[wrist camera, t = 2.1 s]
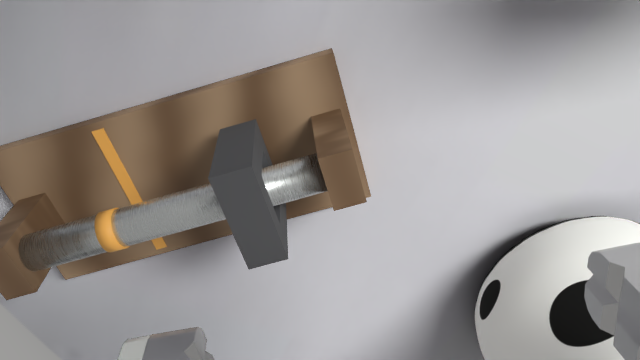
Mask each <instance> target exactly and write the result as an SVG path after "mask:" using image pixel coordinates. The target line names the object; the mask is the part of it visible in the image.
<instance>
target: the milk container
mask: <svg viewBox="0 0 640 360" xmlns="http://www.w3.org/2000/svg"><path fill="white" fill-rule="evenodd" d="M633 243H640V223H637V222H634V221H631V220H627V219H621V218H614V217H607V216H591V217H584V218H577V219H571V220H566V221H563V222H560V223H557V224H554V225H552V226H550V227H547V228H545V229H542V230H540V231H538V232H536V233H534V234H532V235H530V236H528V237H527V238H525V239H524V240H522V241H521V242H520V243H518V244H517V245H516V246H514V247H513V248H512V249H511V250H509V251H508V252H507V253H506V254H505V255H503V256H502V257H501V258H500V260H499V261H498V262H497V263H496V264H495V266H494V267H493V268H492V270H491V271H490V272H489V274H488V275H487V277H486V278H485V280H484V282H483V284H482V286H481V289H480V292H479V296H478V299H477V303H476V308H475V326H476V332H477V337H478V341H479V345H480V348H481V352H482V355H483V357H484V359H485V360H625V359H624V358H623V357H622V356H621V354H620V353H619V352H618V351H617V350H616V348H615V347H614V346H613V342H614V335H612V334H610V333H608V332H606V331H603V330H601V329H600V328H599V327H598V326H597V324H596V323H595V322H594V320H593V319H592V317H591V315H590V313H589V311H588V309H587V305H586V301H585V297H584V295H585V284H586V283H587V281H588V280H589V279H590V278H591V277H592V275H593V273H592V272H591V271H590V270H589V269H588V268H587V264H588V257H589V256H590V254H591V252H593V251H598V250H603V249H608V248H613V247H618V246H623V245H628V244H633Z"/></svg>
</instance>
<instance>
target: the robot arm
mask: <svg viewBox="0 0 640 360" xmlns="http://www.w3.org/2000/svg"><path fill="white" fill-rule="evenodd" d="M587 268H588V269H589V270H590V271H591V272H592V273H593V275H592V277H591V278H590V279H589V280H588V281H587V283H586V284H585V295H584V297H585V301H586V305H587V309H588V311H589V313H590V315H591V317H592V319H593V320H594V322H595V323H596V324H597V326H598V327H599V328H600V329H601V330H603V331H606V332H608V333H610V334H612V335H614V342H613V346H614V347H615V348H616V350H617V351H618V352H619V353H620V354H621V356H622V357H623V358H624V359H625V360H640V243H633V244H628V245H623V246H618V247H613V248H608V249H603V250H598V251H593V252H591V254H590V256H589V257H588V264H587ZM206 343H207V339H206V337H205V334H204V332H203V330H202V328H200V327H194V328H188V329H182V330H176V331H170V332H164V333H158V334H152V335H150V336H143V337H137V338H131V339H127V340H126V341H125V343H124V344H123V345H122V348H121V351H120V354H119V357H118V360H214V358H213V355H211V354H210V353H208V352H206Z"/></svg>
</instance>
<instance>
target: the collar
mask: <svg viewBox="0 0 640 360" xmlns="http://www.w3.org/2000/svg"><path fill="white" fill-rule="evenodd" d="M272 165H273V164H272V162H271V159H270V156H269V153H268V151H267V148H266V145H265V143H264V140H263V137H262V134H261V132H260V129H259V126H258V123H257V121H256V119H254V120H251V121H247V122H244V123H240V124H237V125H233V126H230V127H226V128H223V129H220V131H219V135H218V139H217V143H216V147H215V152H214V156H213V160H212V164H211V168H210V173H209V177H208V180H209V182H210V184H211V186H212V188H213V191H214V193H215V195H216V197H217V200H218V202H219V204H220V206H221V209H222V211H223V213H224V215H225V218H226V220H227V222H228V224H229V226H230V229H231V231H232V233H233V235H234V238H235V240H236V242H237V244H238V247H239V249H240V251H241V253H242V255H243V258H244V260H245V262H246V264H247V267H248V269H252V268H256V267H260V266H264V265H267V264H271V263H275V262H278V261H282V260H286V259H288V245H287V216H286V203H283V204H279V205H276V206H273V205H272V202H271V199H270V197H269V194H268V192H267V189H266V186H265V184H264V181H263V179H262V168H265V167H268V166H272Z"/></svg>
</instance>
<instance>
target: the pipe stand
mask: <svg viewBox="0 0 640 360" xmlns="http://www.w3.org/2000/svg"><path fill="white" fill-rule="evenodd" d="M254 119H256V121H257V123H258V126H259V129H260V132H261V134H262V137H263V140H264V143H265V145H266V148H267V151H268V153H269V156H270V159H271V162H272V164H273V165H272V166H268V167H265V168H262V179H263V181H264V184H265V186H266V189H267V192H268V194H269V197H270V199H271V202H272V205H273V206H276V205H279V204H283V203H286V216H287V219H290V218H294V217H297V216H301V215H305V214H308V213H312V212H316V211H319V210H323V209H327V208H330V207H333V209H334V211H335V210H339V209H343V208H346V207H350V206H354V205H357V204H361V203H365V202H367V201H366V198H367V197H371V194H370V190H369V187H368V183H367V179H366V175H365V171H364V168H363V164H362V160H361V156H360V152H359V149H358V145H357V141H356V137H355V133H354V129H353V126H352V122H351V118H350V114H349V110H348V107H347V103H346V99H345V95H344V91H343V88H342V84H341V80H340V76H339V72H338V69H337V65H336V61H335V57H334V53H333V50H332V48H331V49H328V50H325V51H321V52H318V53H314V54H311V55H308V56H304V57H301V58H297V59H294V60H291V61H287V62H284V63H280V64H277V65H274V66H270V67H267V68H263V69H260V70H257V71H253V72H250V73H246V74H243V75H240V76H236V77H233V78H229V79H226V80H223V81H219V82H216V83H212V84H209V85H206V86H202V87H199V88H195V89H192V90H189V91H185V92H182V93H178V94H175V95H172V96H168V97H165V98H161V99H158V100H155V101H151V102H148V103H144V104H141V105H138V106H134V107H131V108H127V109H124V110H121V111H117V112H114V113H110V114H107V115H104V116H100V117H97V118H93V119H90V120H87V121H83V122H80V123H77V124H73V125H70V126H66V127H63V128H60V129H56V130H53V131H49V132H46V133H43V134H39V135H36V136H32V137H29V138H26V139H22V140H19V141H15V142H12V143H9V144H5V145H2V146H0V186H1V188H2V189H3V190H4V192H5V193H6V195H7V196H8V198H9V199H10V200H11V202H12V203H13V205H14V206H13V207H12V208H11V210H10V211H9V212H8V213H7V214H6V216H5V217H4V218H3V219H2V220H1V221H0V293H1V294H2V295H3V296H4V298H5V299H6V300H9V299H12V298H16V297H20V296H23V295H27V294H31V293H34V292H37V290H38V288H39V287H40V285H41V283H42V282H43V280H44V279H45V277H46V275H47V274H48V272H49V270H50V269H51V267H54V266H56V267H57V268H58V269H59V271H60V272H61V274H62V275H63V277H64V278H65V279H66V280H67V279H70V278H74V277H78V276H81V275H85V274H89V273H92V272H96V271H100V270H103V269H107V268H111V267H114V266H118V265H122V264H125V263H129V262H133V261H136V260H140V259H144V258H147V257H151V256H155V255H158V254H162V253H165V252H169V251H173V250H176V249H180V248H184V247H187V246H191V245H195V244H198V243H202V242H206V241H209V240H213V239H217V238H220V237H224V236H228V235H231V234H233V233H232V231H231V229H230V226H229V224H228V222H227V220H226V218H225V215H224V213H223V211H222V209H221V206H220V204H219V202H218V200H217V197H216V195H215V193H214V191H213V188H212V186H211V184H210V182H209V180H208V177H209V173H210V168H211V164H212V160H213V156H214V152H215V147H216V143H217V139H218V135H219V131H220V129H223V128H226V127H230V126H233V125H237V124H240V123H244V122H247V121H251V120H254Z"/></svg>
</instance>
